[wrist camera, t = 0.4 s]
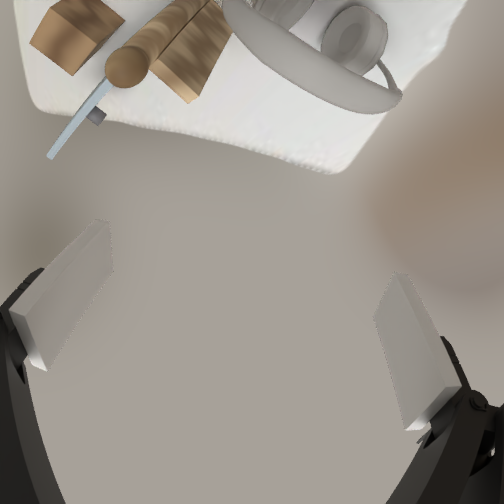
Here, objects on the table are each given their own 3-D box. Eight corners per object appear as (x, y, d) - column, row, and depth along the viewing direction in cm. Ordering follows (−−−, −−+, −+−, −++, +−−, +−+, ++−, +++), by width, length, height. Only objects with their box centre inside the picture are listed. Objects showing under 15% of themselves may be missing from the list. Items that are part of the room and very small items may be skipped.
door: (102, 78, 41) (45, 155, 32) (185, 0, 29) (122, 60, 21) (119, 91, 43) (67, 171, 35) (205, 19, 32) (154, 87, 24)
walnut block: (61, 18, 30) (29, 43, 26) (83, -13, 26) (49, 7, 22) (99, 49, 36) (72, 76, 32) (125, 20, 32) (97, 44, 28)
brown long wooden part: (181, -7, 29) (89, 78, 18) (201, -22, 27) (113, 50, 16) (222, 33, 34) (165, 139, 24) (242, 21, 32) (193, 121, 22)
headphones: (230, 3, 30) (178, 76, 21) (263, -54, 22) (225, -28, 13) (357, 68, 36) (377, 172, 26) (398, 24, 28) (451, 114, 19)
